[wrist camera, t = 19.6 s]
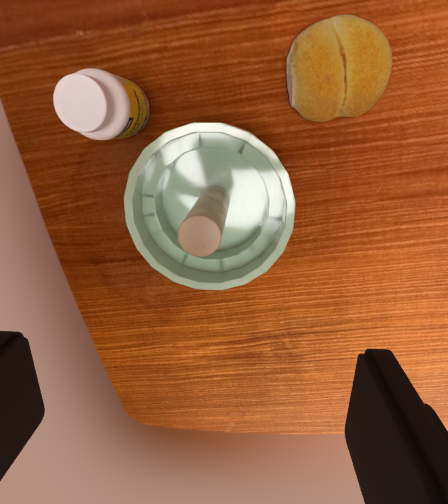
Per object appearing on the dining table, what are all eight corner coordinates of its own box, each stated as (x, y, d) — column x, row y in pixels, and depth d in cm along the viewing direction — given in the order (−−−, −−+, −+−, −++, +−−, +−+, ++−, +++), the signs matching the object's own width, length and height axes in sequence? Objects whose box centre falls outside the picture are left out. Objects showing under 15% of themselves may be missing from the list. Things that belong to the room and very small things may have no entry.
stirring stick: (200, 215, 36) (178, 256, 25) (199, 185, 35) (176, 214, 24) (229, 215, 36) (221, 257, 25) (230, 185, 35) (221, 215, 24)
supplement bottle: (142, 145, 35) (104, 154, 26) (92, 124, 34) (36, 126, 25) (158, 91, 33) (123, 80, 24) (105, 68, 32) (49, 48, 23)
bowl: (148, 263, 40) (132, 287, 34) (137, 121, 34) (115, 121, 28) (282, 268, 39) (288, 293, 33) (293, 122, 33) (302, 123, 27)
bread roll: (384, 111, 32) (402, 110, 28) (289, 126, 33) (295, 127, 30) (385, 9, 29) (405, -7, 26) (281, 29, 30) (286, 17, 27)
